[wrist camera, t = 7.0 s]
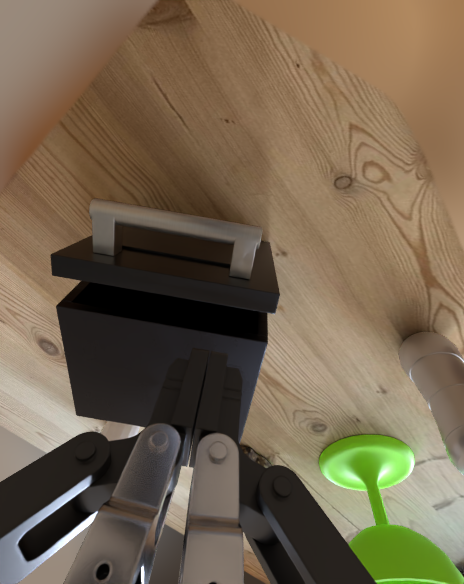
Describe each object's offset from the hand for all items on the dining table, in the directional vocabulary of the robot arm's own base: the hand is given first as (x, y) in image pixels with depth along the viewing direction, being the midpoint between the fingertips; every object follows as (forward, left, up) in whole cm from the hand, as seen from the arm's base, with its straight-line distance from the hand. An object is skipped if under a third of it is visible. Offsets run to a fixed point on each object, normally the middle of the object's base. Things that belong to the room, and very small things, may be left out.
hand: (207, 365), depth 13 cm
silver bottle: (+14, +26, -24) cm, 38 cm away
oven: (+12, -4, -24) cm, 27 cm away
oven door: (+2, -4, -24) cm, 24 cm away
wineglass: (+41, +29, -24) cm, 55 cm away
